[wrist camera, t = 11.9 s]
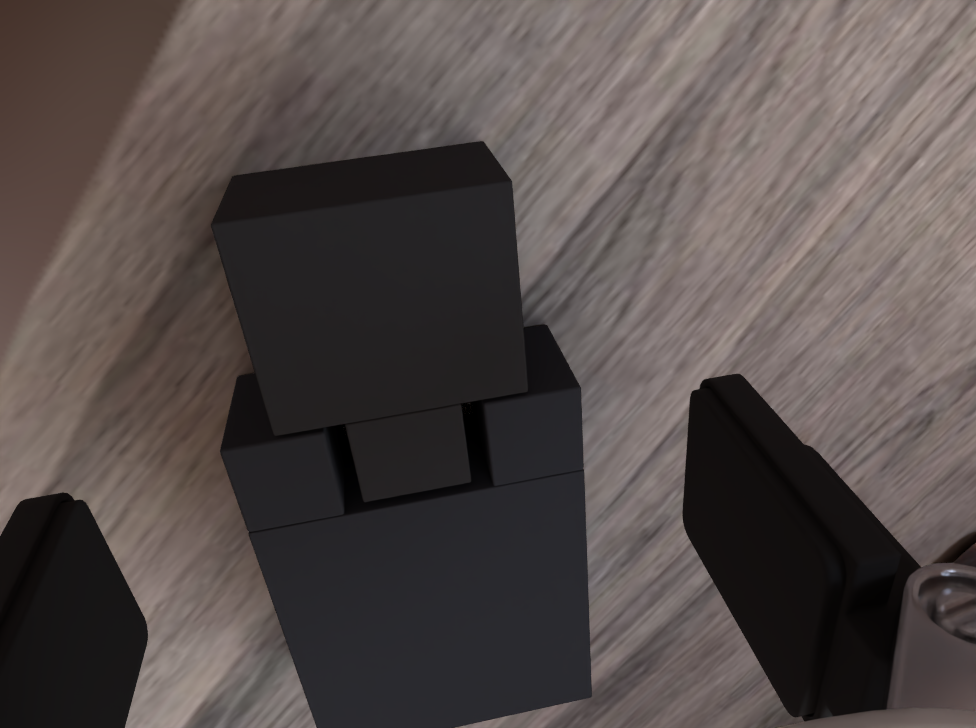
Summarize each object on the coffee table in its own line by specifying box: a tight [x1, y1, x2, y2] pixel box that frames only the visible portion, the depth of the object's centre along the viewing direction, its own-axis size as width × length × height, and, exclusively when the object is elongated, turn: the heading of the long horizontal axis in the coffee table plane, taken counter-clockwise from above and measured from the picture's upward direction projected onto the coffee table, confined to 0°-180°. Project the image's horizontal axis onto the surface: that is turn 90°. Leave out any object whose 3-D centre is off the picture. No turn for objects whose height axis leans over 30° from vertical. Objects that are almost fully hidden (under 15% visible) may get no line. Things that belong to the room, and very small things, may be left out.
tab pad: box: [211, 141, 528, 502], centre depth 21 cm, size 9×7×4 cm
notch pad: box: [220, 325, 592, 728], centre depth 25 cm, size 14×10×4 cm
